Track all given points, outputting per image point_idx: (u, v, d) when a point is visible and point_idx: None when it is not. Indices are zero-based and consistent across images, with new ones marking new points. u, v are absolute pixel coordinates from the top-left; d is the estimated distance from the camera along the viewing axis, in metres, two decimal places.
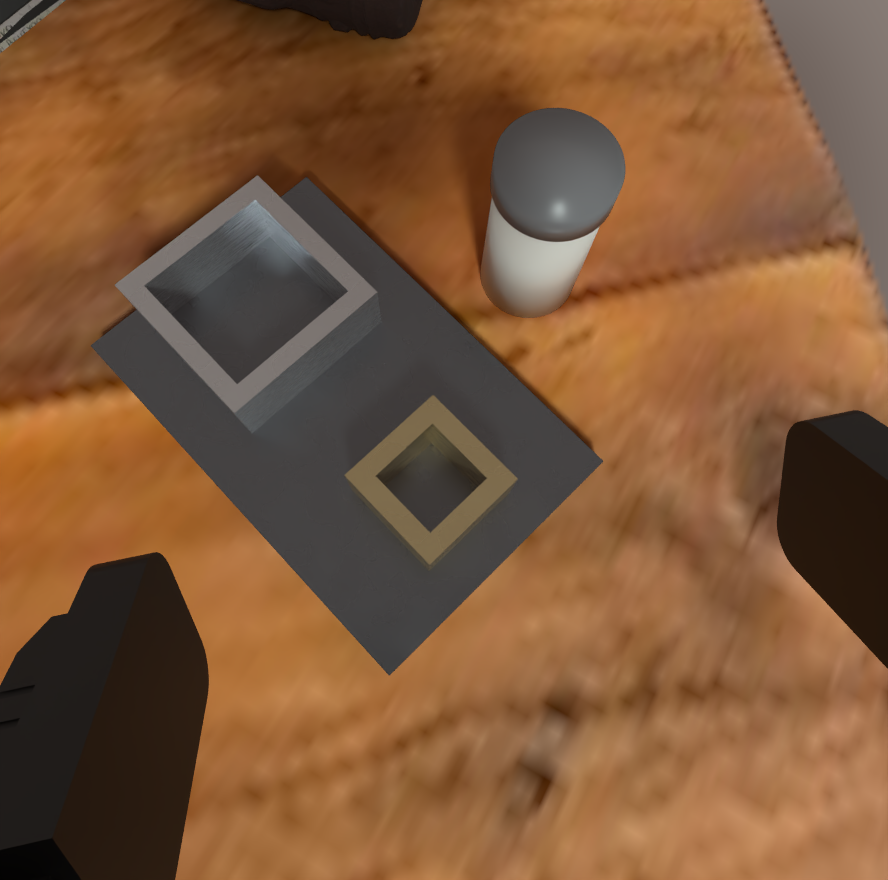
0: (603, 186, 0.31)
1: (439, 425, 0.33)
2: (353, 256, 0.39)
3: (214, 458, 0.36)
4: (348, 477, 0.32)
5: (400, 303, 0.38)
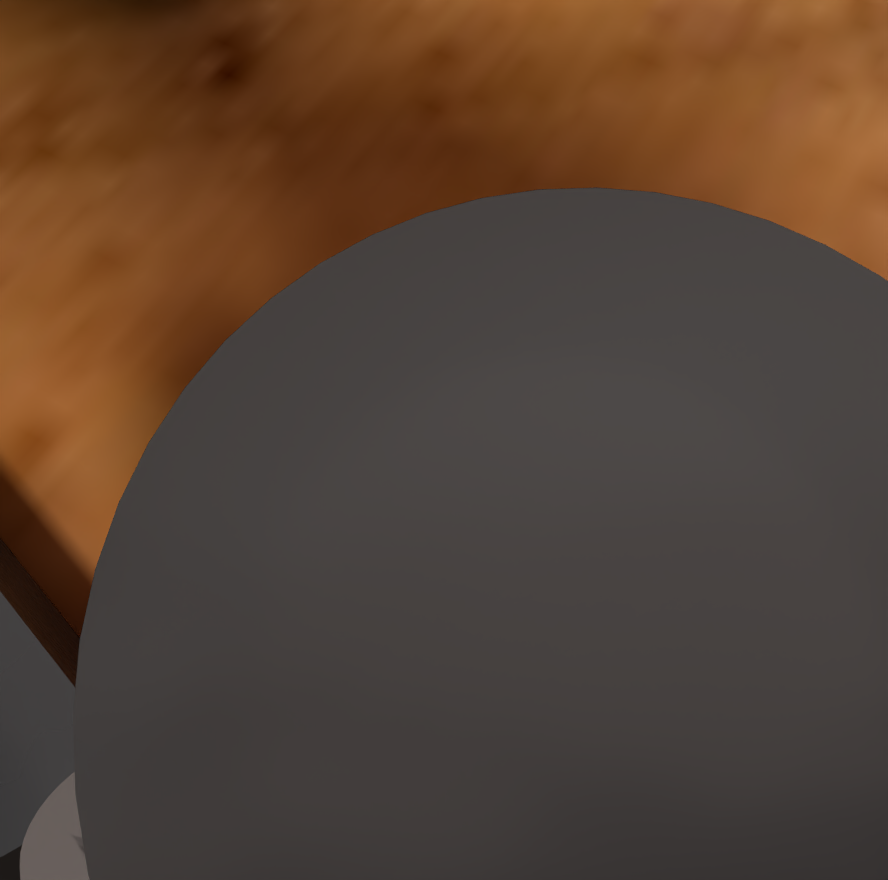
0: None
1: None
2: None
3: None
4: None
5: None
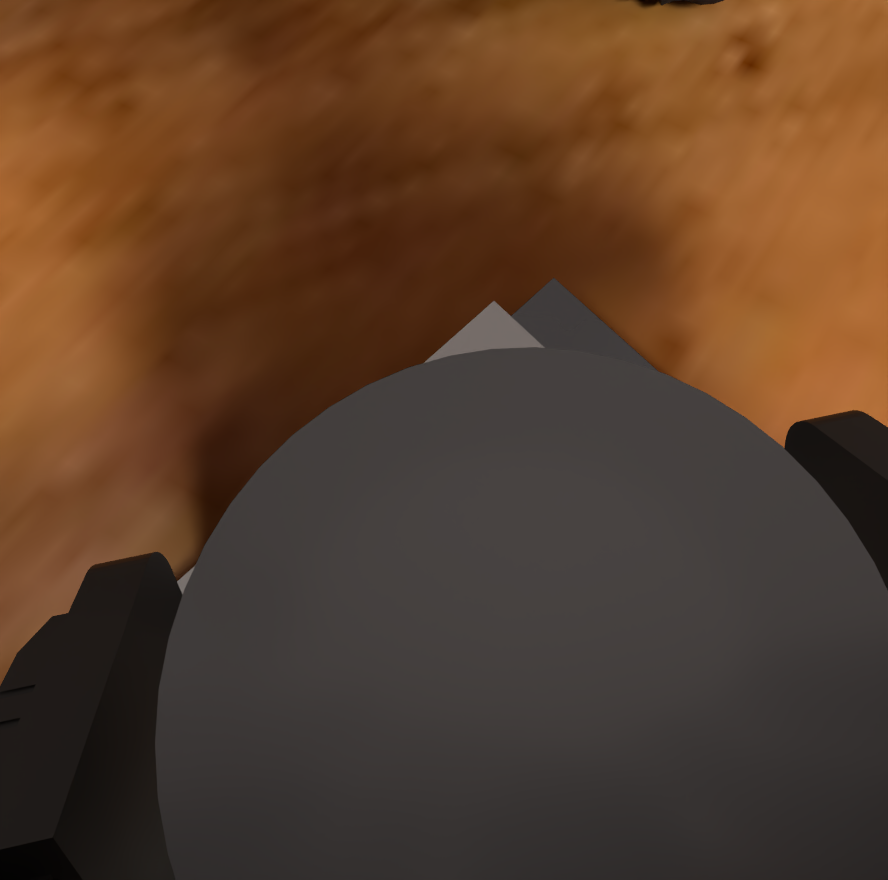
0: (806, 871, 0.05)
1: None
2: None
3: None
4: None
5: None
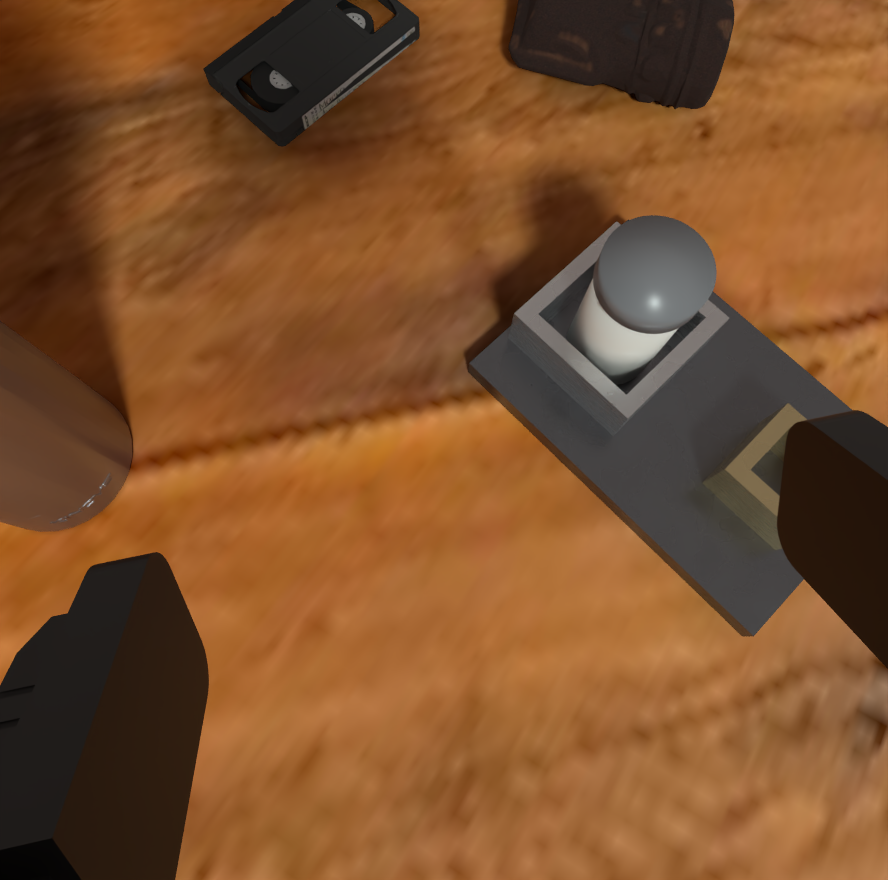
0: (696, 290, 0.35)
1: None
2: None
3: (584, 456, 0.43)
4: (728, 471, 0.39)
5: (721, 326, 0.45)
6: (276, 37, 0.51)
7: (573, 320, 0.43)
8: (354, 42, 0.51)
